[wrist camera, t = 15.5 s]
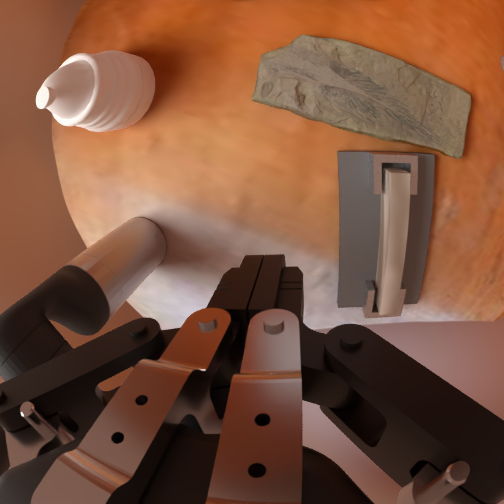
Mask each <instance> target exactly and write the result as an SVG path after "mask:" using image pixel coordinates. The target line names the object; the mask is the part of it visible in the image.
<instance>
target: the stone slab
mask: <svg viewBox="0 0 504 504" xmlns="http://www.w3.org/2000/svg"><path fill="white" fill-rule="evenodd" d="M252 101H255V102H258V103H261V104H265V105H268V106H271V107H275V108H279V109H285V110H288V111H291V112H293V113H294V114H297V115H300V116H302V117H304V118H306V119H309V120H314V121H320V122H324V123H327V124H329V125H331V126H334V127H337V128H340V129H343V130H346V131H350V132H354V133H359V134H364V135H368V136H372V137H376V138H380V139H383V140H390V141H394V142H403V143H408V144H412V145H415V146H419V147H422V148H424V147H425V148H428V149H432V150H435V151H438V152H440V153H442V154H444V155H446V156H450V157H453V158H457V159H461V157H462V155H463V151H464V145H465V138H466V130H467V123H468V117H469V113H470V109H471V95H470V94H469V93H468V92H466V91H465V90H463V89H462V88H460V87H458V86H456V85H452V84H450V83H448V82H446V81H444V80H442V79H440V78H438V77H436V76H433V75H432V74H430V73H428V72H426V71H424V70H421V69H418V68H416V67H414V66H412V65H410V64H408V63H406V62H405V61H403V60H400V59H397V58H394V57H391V56H389V55H387V54H384V53H381V52H378V51H375V50H372V49H369V48H366V47H363V46H360V45H357V44H355V43H351V42H348V41H344V40H339V39H331V38H319V37H314V36H311V35H300V36H298V37H297V38H295V39H294V41H293V42H292V43H291V44H290V45H287V46H285V47H282V48H278V49H276V50H273V51H270V52H267V53H264V54H263V55H261V60H260V64H259V68H258V72H257V80H256V86H255V92H254V94H253V100H252Z"/></svg>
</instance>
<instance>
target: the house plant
mask: <svg viewBox="0 0 504 504" xmlns="http://www.w3.org/2000/svg"><path fill="white" fill-rule="evenodd" d="M501 64H502V68H503V71H504V55H503V56H502V58H501Z"/></svg>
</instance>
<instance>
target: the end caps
mask: <svg viewBox="0 0 504 504" xmlns="http://www.w3.org/2000/svg"><path fill="white" fill-rule="evenodd" d="M368 159H369V189H370V190H371V191H372V193H373V194H382V163H403V170H405V171H407V172H409V173H411V180H410V194H412V195H417V183H418V156H417V155H414V154H411V153H395V152H368ZM374 293H375V290H374V287H373V284H372V281H371V280H365V285H364V295H363V304H362V308H363V313H364V317H365V318H378V317H394V316H401V312H402V308H403V303H404V298H405V293H406V288H405V286H404V284H403V282H402V281H401V288H400V293H399V299H398V304H397V310H396V314H388V315H380V314H379V311H378V308H377V304H376V301H374Z"/></svg>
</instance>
